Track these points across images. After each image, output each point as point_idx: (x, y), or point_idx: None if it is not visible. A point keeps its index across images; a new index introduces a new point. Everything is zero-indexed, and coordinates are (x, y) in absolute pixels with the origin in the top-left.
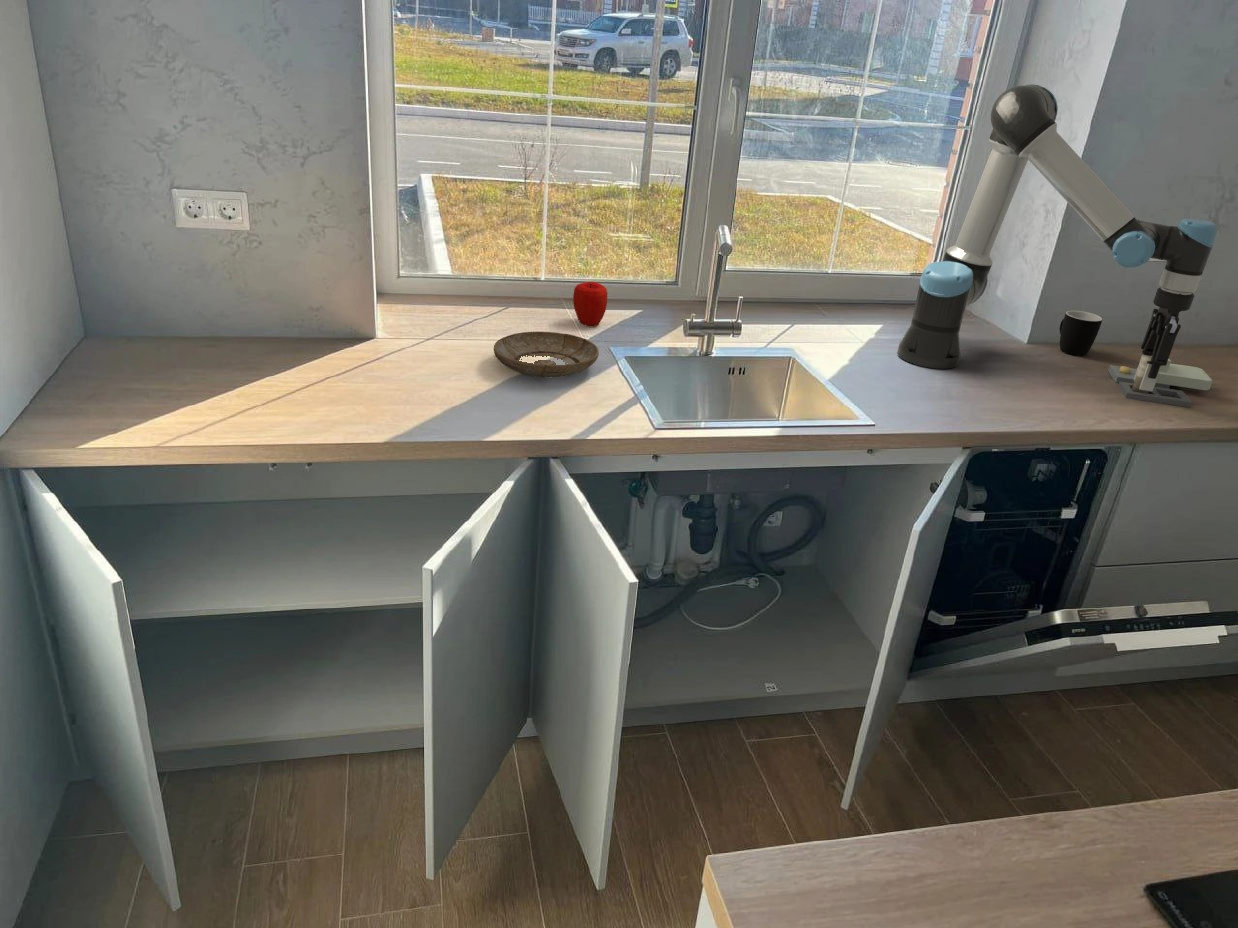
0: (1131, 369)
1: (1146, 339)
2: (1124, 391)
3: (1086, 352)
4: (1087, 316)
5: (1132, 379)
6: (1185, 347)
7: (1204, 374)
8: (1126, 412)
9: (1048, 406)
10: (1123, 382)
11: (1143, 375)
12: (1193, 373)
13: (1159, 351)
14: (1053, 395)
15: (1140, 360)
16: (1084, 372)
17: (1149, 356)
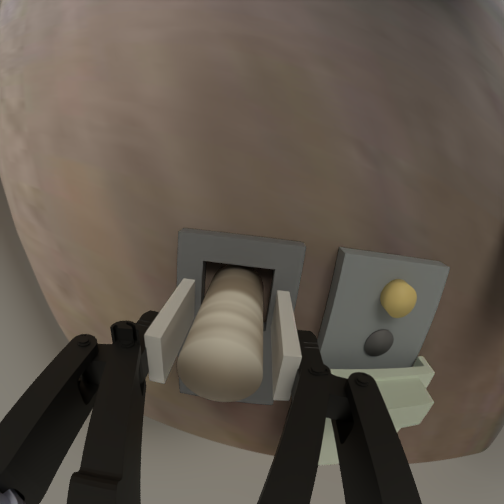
0: (421, 325)
1: (359, 422)
2: (213, 233)
3: None
4: None
5: (333, 301)
6: (498, 419)
7: (331, 461)
8: (66, 190)
9: (68, 14)
10: (298, 258)
11: (200, 308)
12: (334, 449)
13: (42, 376)
14: (136, 12)
15: (295, 338)
16: (412, 168)
17: (260, 378)
